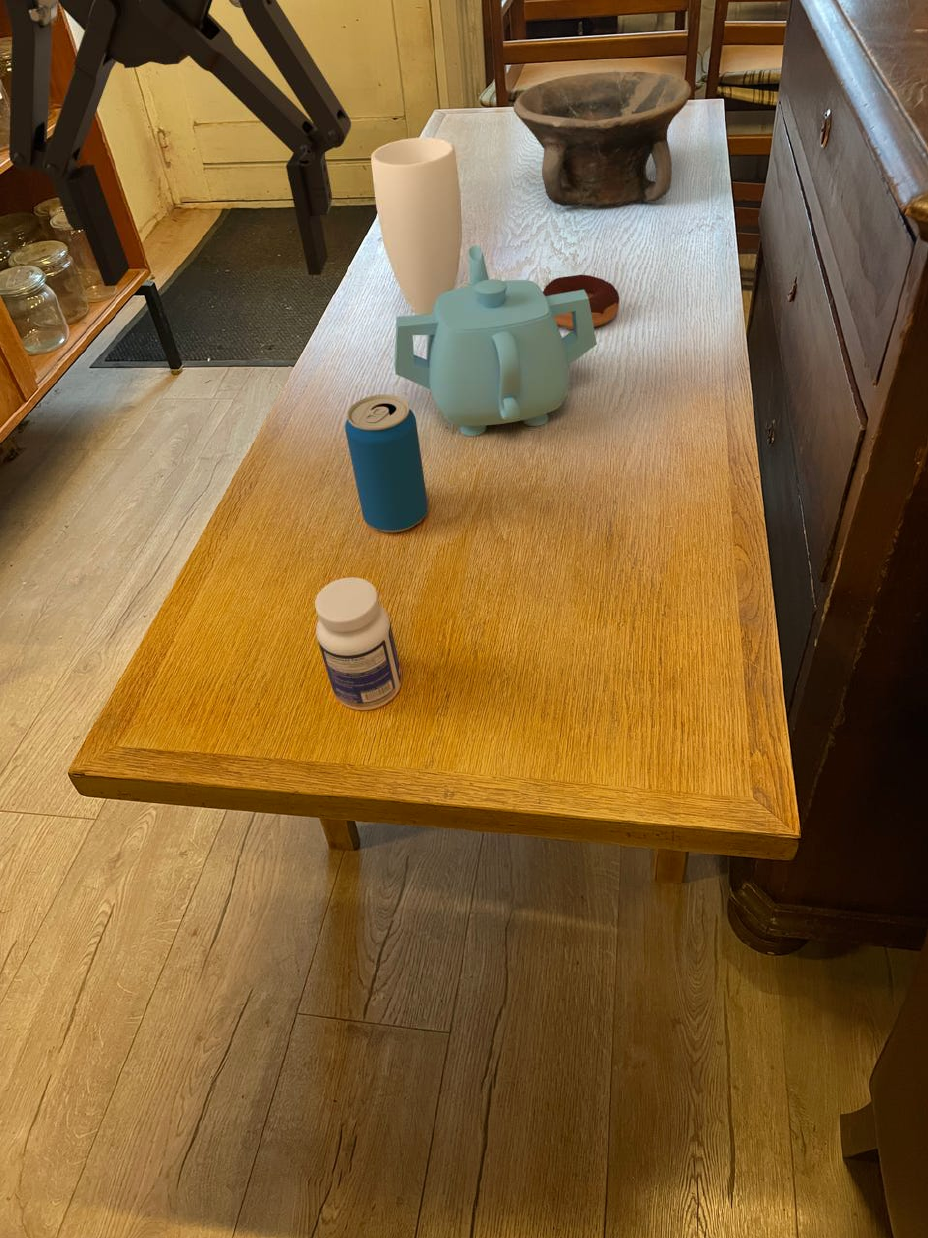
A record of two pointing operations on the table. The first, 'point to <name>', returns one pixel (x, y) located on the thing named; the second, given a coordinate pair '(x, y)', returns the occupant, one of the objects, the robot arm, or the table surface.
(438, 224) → the cup
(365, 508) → the beverage can
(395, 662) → the pill bottle
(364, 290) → the table surface
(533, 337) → the teapot
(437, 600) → the table surface
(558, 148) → the brown clay pot
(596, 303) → the donut
